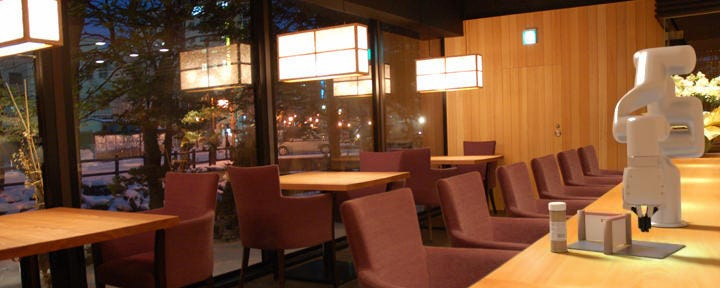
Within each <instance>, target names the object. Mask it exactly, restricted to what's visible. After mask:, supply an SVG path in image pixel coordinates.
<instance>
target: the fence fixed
mask: <svg viewBox="0 0 720 288" xmlns="http://www.w3.org/2000/svg"><path fill="white" fill-rule="evenodd" d="M576 211H577V212H576V213H577V214H576V215H577V217H576V218H577V242H578V241H581V240H586V239H594V240H603V237H604V253H603V255H607V256H608V255H609V256H612V255H614V254H613V239H612V220H603V227H602V222H601V219H604V218H608V217H613V216H617V215H626V218H625V226H626V244H625V245H631V244H632V240H633V238H632V237H633V235H632V234H633V233H632V229H633V228H632V213H630V212H604V211H589V210H586V209H585V210H584V209H579V210H576Z"/></svg>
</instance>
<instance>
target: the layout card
mask: <svg viewBox="0 0 720 288" xmlns="http://www.w3.org/2000/svg"><path fill="white" fill-rule="evenodd" d="M684 246H685V247H686V244H679V243H669V242H659V241H647V240H638V239H637V240H636V239H632V244H631V245H625V244H623V245H619V246H615V247H613V254H612V255H622V256H631V257H639V258H649V259H657V260H663V259H665V258H666V257H668V256H670V255H672V254H674V253H676V252H678V251H679V250H682V248H684ZM568 249H570V250H577V251H578V250H579V251H586V252H587V251H588V252H594V253H603V254H604V249H603V240H594V239H586V240H581V241H578V240H577V241H575V242H574V243H573V242H572V243H570V244H567V250H568Z"/></svg>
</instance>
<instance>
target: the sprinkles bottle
mask: <svg viewBox="0 0 720 288" xmlns="http://www.w3.org/2000/svg"><path fill="white" fill-rule="evenodd" d="M548 210H549V238H550V249H549V250H550V252H553V253H557V254H558V253H559V254H563V253H566V252H567V253H568V249H567V245H568V242H567V241H568V240H567V239H568V236H567V235H568V234H567V233H568V232H567V215H566V211H567V204H566V202H563V201H562V202H561V201H554V202H553V201H552V202H549V203H548Z"/></svg>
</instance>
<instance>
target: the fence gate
mask: <svg viewBox="0 0 720 288" xmlns="http://www.w3.org/2000/svg"><path fill="white" fill-rule="evenodd" d="M625 218H626V215H623V214H622V215H617V216H613V217H608V218H604V219H601V222H602V227H603V220H612V239H613V247H615V246H619V245H623V244H626V226H625ZM603 249H604V237H603Z"/></svg>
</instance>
